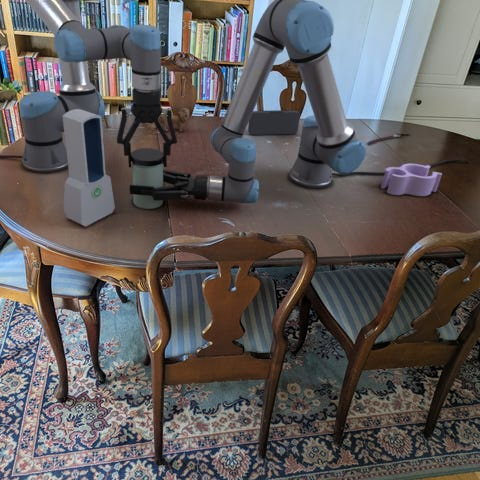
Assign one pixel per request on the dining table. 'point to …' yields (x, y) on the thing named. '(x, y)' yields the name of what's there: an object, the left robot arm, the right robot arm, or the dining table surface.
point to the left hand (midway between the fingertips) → (147, 165)
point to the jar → (147, 184)
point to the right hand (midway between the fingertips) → (132, 182)
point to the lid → (147, 157)
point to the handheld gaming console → (273, 122)
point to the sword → (386, 138)
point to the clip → (410, 180)
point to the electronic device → (86, 169)
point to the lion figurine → (176, 119)
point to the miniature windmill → (92, 78)
